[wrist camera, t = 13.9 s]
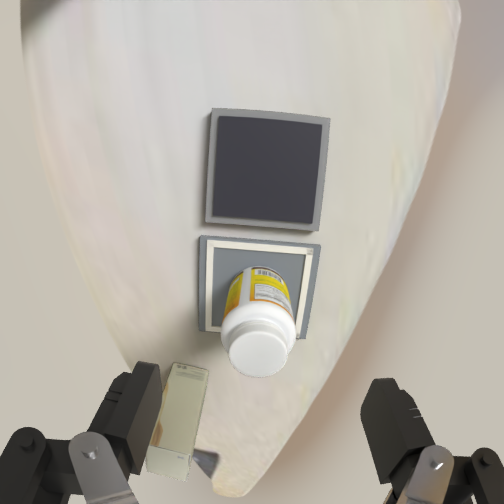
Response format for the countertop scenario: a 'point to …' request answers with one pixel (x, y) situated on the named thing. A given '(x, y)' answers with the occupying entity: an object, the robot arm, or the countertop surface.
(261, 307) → the supplement bottle
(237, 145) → the ink pad
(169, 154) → the countertop surface
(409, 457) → the robot arm
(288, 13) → the countertop surface
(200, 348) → the countertop surface
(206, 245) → the grey square pad
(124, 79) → the countertop surface
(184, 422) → the skincare box
